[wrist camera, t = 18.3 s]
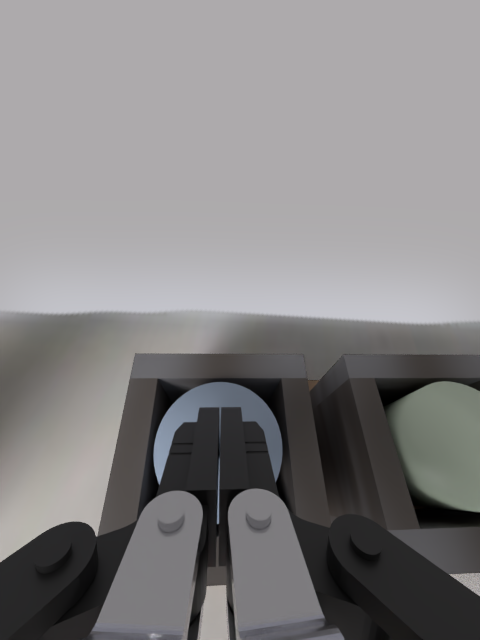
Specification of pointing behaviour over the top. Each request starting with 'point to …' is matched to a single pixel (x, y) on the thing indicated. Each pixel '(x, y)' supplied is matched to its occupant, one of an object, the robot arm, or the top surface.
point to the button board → (306, 442)
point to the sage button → (439, 444)
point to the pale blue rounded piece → (219, 397)
